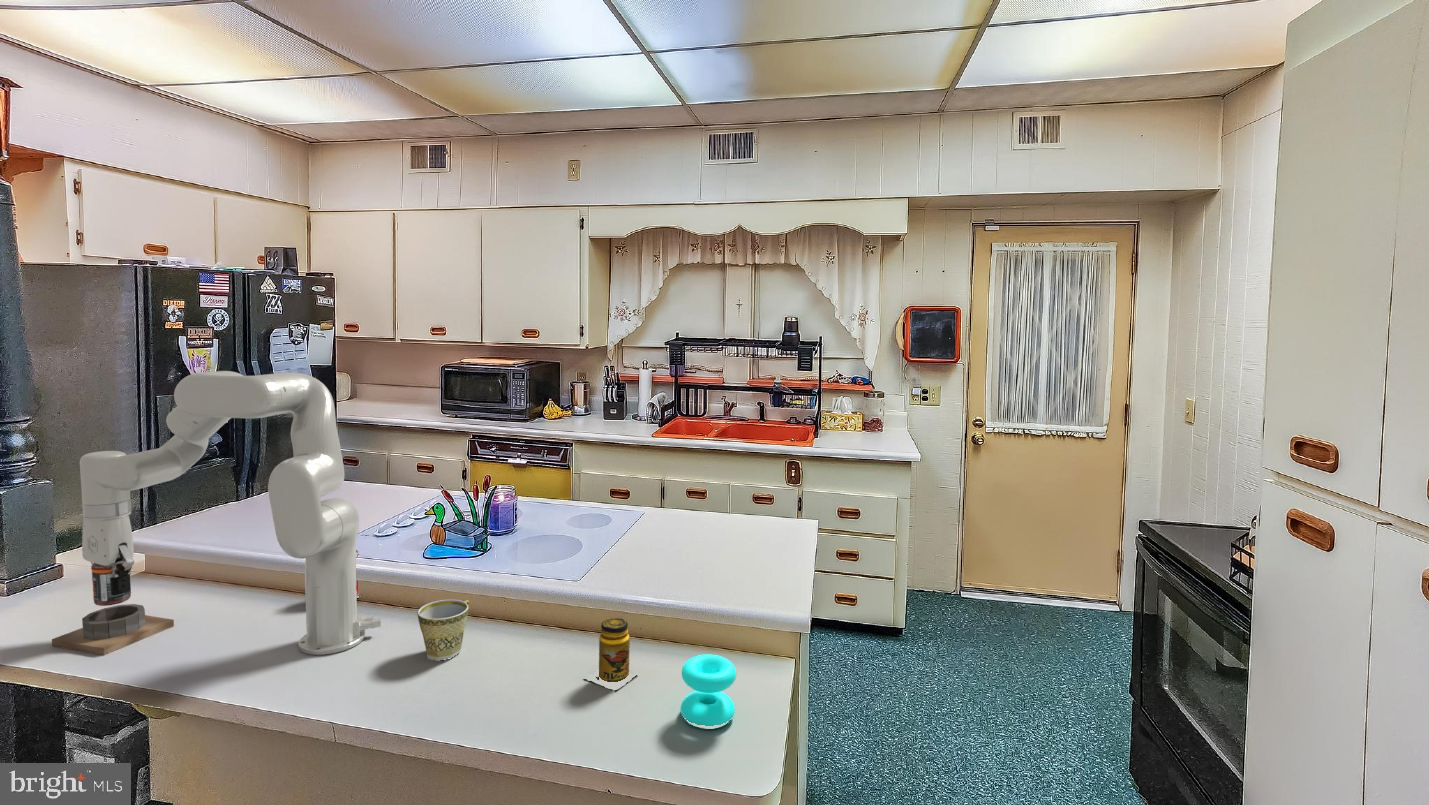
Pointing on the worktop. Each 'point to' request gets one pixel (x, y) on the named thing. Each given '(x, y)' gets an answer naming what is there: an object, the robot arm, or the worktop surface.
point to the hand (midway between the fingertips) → (112, 589)
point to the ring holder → (112, 629)
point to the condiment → (614, 650)
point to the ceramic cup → (443, 627)
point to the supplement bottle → (105, 586)
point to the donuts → (708, 690)
